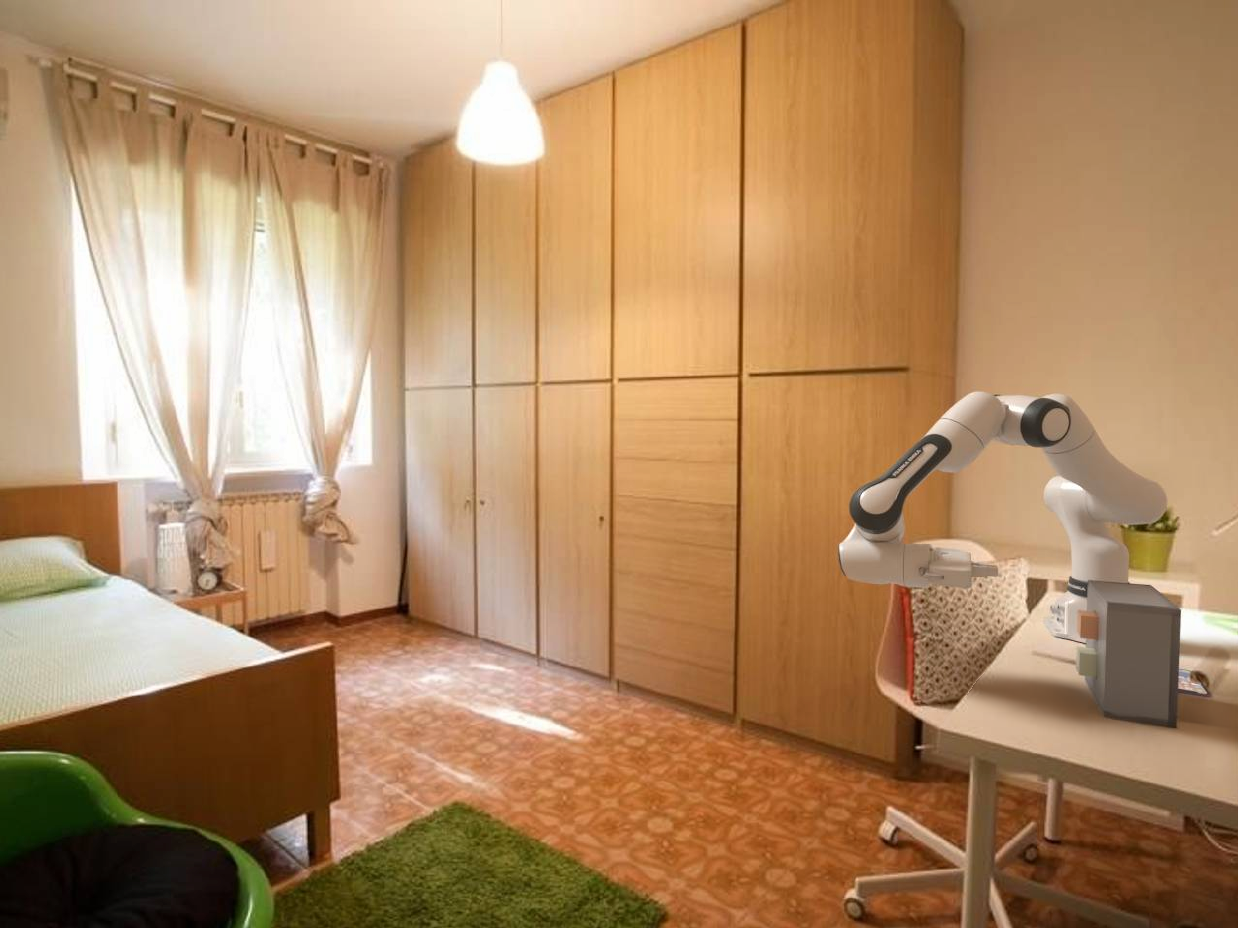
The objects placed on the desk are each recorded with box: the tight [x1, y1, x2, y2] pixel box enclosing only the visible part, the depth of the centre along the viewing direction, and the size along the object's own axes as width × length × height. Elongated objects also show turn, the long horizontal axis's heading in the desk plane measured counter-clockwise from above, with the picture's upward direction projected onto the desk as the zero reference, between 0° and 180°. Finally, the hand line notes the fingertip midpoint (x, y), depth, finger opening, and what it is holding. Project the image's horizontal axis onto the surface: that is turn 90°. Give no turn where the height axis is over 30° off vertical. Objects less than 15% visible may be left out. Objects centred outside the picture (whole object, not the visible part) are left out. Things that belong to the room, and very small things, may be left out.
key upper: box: [1077, 610, 1099, 640], centre depth 125 cm, size 5×4×4 cm
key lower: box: [1075, 646, 1097, 677], centre depth 126 cm, size 5×4×4 cm
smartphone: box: [1178, 668, 1211, 698], centre depth 134 cm, size 1×7×15 cm
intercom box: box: [1084, 580, 1182, 729], centre depth 123 cm, size 10×20×20 cm, turn 153°
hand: (998, 570), depth 132 cm, fingers closed
